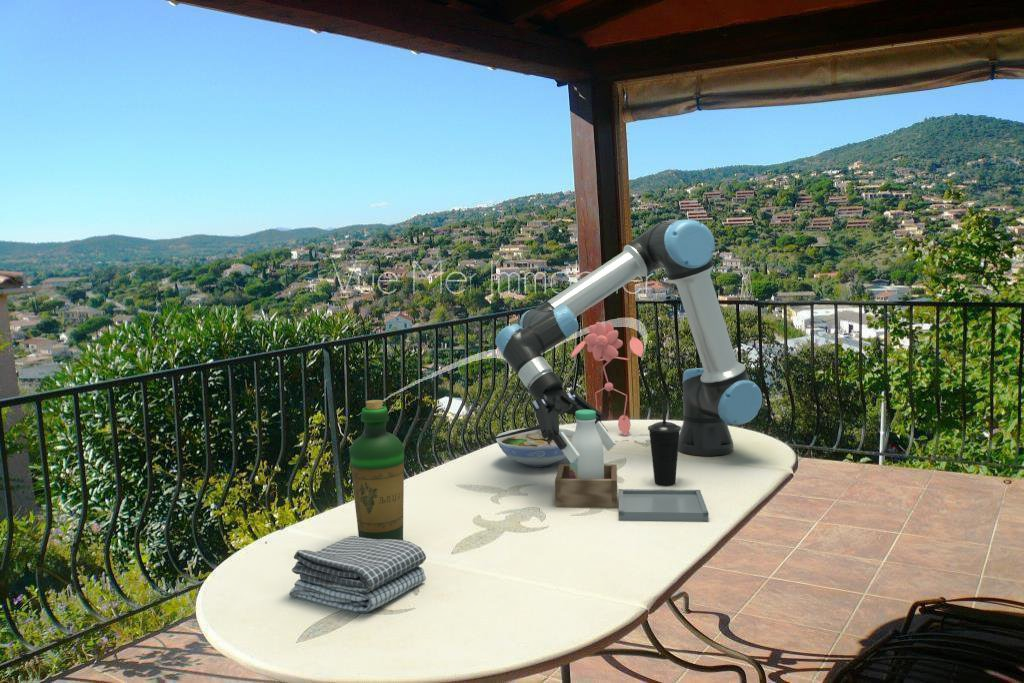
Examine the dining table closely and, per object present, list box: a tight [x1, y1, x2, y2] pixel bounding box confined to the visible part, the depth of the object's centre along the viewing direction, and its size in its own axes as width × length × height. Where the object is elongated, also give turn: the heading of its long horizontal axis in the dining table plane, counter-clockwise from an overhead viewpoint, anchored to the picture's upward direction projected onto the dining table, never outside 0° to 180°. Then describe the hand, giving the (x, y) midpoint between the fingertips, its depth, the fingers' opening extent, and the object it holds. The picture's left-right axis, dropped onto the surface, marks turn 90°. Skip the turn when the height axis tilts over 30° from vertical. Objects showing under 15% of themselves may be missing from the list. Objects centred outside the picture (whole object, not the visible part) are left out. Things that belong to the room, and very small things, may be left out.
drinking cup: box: [647, 399, 682, 487], centre depth 185 cm, size 8×8×20 cm
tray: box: [618, 488, 709, 522], centre depth 168 cm, size 18×16×2 cm
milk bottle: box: [569, 410, 605, 479], centre depth 176 cm, size 8×8×20 cm
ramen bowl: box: [485, 424, 575, 468], centre depth 208 cm, size 25×23×8 cm
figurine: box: [570, 321, 645, 443], centre depth 236 cm, size 15×26×35 cm, turn 53°
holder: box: [554, 463, 618, 509], centre depth 176 cm, size 13×13×6 cm
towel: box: [288, 535, 427, 614], centre depth 131 cm, size 15×18×8 cm
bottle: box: [348, 399, 405, 540], centre depth 151 cm, size 11×11×28 cm
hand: (594, 453), depth 174 cm, fingers open, 13 cm apart
